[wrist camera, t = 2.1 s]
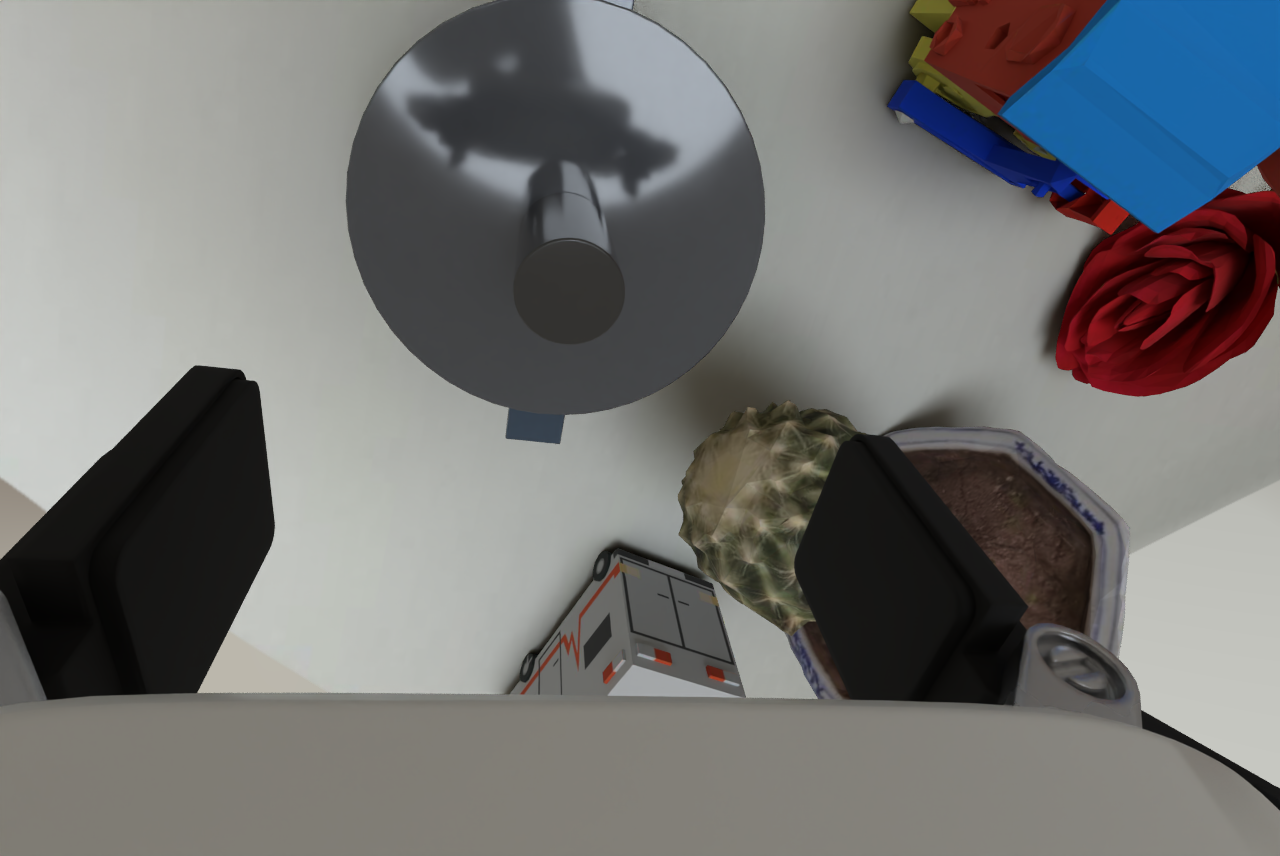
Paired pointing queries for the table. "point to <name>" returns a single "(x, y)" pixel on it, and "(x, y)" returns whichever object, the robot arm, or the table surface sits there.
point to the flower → (1174, 297)
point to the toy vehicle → (637, 638)
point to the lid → (555, 204)
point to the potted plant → (960, 475)
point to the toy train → (1105, 98)
